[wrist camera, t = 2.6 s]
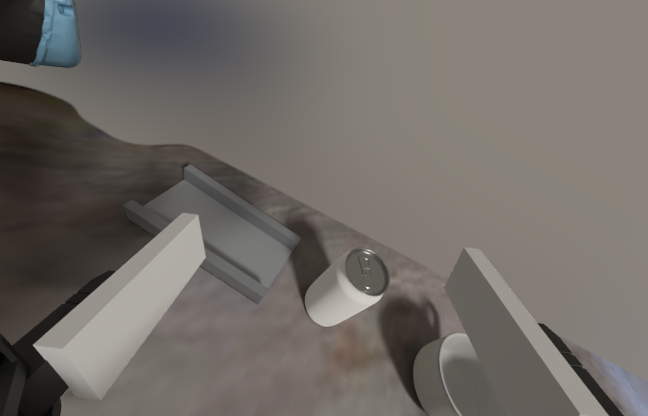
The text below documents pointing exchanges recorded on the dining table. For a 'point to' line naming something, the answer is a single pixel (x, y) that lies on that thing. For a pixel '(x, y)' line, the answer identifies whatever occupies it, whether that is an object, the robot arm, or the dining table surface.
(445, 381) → the teacup
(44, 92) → the dining table surface
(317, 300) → the can
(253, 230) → the tray
